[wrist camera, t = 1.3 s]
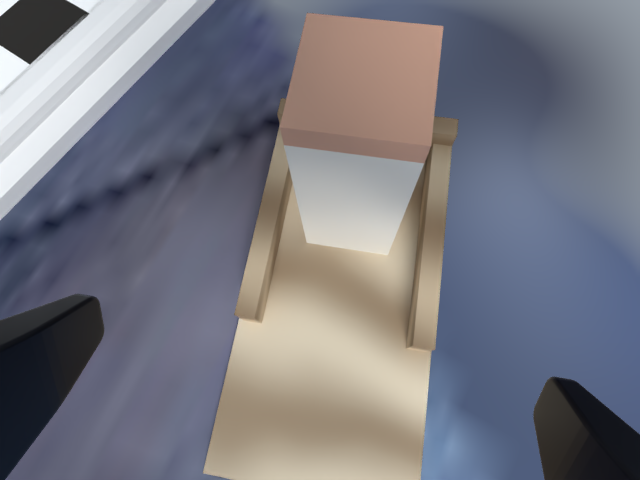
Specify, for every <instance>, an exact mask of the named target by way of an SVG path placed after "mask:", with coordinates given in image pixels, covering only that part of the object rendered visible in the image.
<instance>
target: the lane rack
mask: <svg viewBox="0 0 640 480" xmlns="http://www.w3.org/2000/svg"><path fill="white" fill-rule="evenodd" d="M285 103H286V99H284V98H281V100H280V105H279V109H278V113H277V114H278V119H279V123H281V119H282V115H283V111H284V107H285ZM457 130H458V119H452V118H444V117H436V116H434V123H433V133H432V143H431V148H430V150H429V153H428V155H427V158H426V160H425V163H424V165H423V168H422V170H421V173H420V175H419V178H418V181H417V183H416V186H415V188H414V191H413V193H412V196H411V198H410V201H409V203H408V206H407V208H406V211H405V213H404V216H403V218H402V221H401V223H400V226H399V228H398V231H397V233H396V236H395V238H394V241H393V243H392V246H391V249H390V251H389V254H388V255H383V254H377V253H370V252H363V251H357V250H350V249H344V248H337V247H331V246H324V245H318V244H311V243H307V242H306V237H305V233H304V229H303V225H302V220H301V216H300V212H299V208H298V203H297V199H296V195H295V191H294V186H293V182H292V178H291V173H290V169H289V165H288V161H287V156H286V152H285V148H284V144H283V139H282V135H281V131H280V126H279V130H278V134H277V138H276V143H275V147H274V151H273V155H272V159H271V164H270V168H269V172H268V176H267V180H266V184H265V189H264V193H263V197H262V201H261V205H260V209H259V214H258V218H257V222H256V226H255V230H254V234H253V239H252V243H251V247H250V251H249V255H248V260H247V264H246V268H245V272H244V276H243V280H242V285H241V289H240V293H239V297H238V301H237V305H236V310H235V314H234V315H235V316H237V317H239V321H238V326H237V330H236V334H235V338H234V343H233V347H232V351H231V355H230V360H229V364H228V368H227V372H226V377H225V381H224V385H223V389H222V394H221V398H220V402H219V406H218V411H217V415H216V419H215V423H214V428H213V432H212V436H211V440H210V445H209V449H208V453H207V457H206V462H205V466H204V470H203V473H205V474H209V475H214V476H219V477H223V478H228V479H233V480H420V478H421V466H422V455H423V443H424V431H425V420H426V408H427V396H428V385H429V373H430V361H431V351H432V350H435V344H436V332H437V320H438V308H439V296H440V284H441V272H442V260H443V248H444V236H445V224H446V211H447V200H448V187H449V175H450V164H451V152H452V145H453V143H454V141H455V139H456V137H457Z"/></svg>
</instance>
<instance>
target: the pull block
mask: <svg viewBox="0 0 640 480" xmlns="http://www.w3.org/2000/svg"><path fill="white" fill-rule="evenodd" d="M442 34H443V26H436V25H426V24H416V23H405V22H396V21H385V20H375V19H365V18H355V17H344V16H334V15H323V14H314V13H307V15H306V19H305V23H304V27H303V31H302V36H301V40H300V44H299V48H298V52H297V57H296V61H295V65H294V69H293V73H292V77H291V82H290V86H289V90H288V94H287V98H286V103H285V107H284V111H283V115H282V119H281V123H280V131H281V135H282V139H283V144H284V148H285V152H286V156H287V161H288V165H289V169H290V173H291V178H292V182H293V186H294V191H295V195H296V199H297V203H298V208H299V212H300V216H301V220H302V225H303V229H304V233H305V237H306V242H307V243H311V244H318V245H324V246H331V247H337V248H344V249H350V250H357V251H363V252H370V253H377V254H383V255H388V254H389V251H390V249H391V246H392V243H393V241H394V238H395V236H396V233H397V231H398V228H399V226H400V223H401V221H402V218H403V216H404V213H405V211H406V208H407V206H408V203H409V201H410V198H411V196H412V193H413V191H414V188H415V186H416V183H417V181H418V178H419V175H420V173H421V170H422V168H423V165H424V163H425V160H426V158H427V155H428V153H429V150H430V148H431V143H432V133H433V123H434V113H435V103H436V93H437V83H438V73H439V63H440V53H441V44H442Z"/></svg>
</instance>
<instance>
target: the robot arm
mask: <svg viewBox="0 0 640 480" xmlns="http://www.w3.org/2000/svg"><path fill="white" fill-rule="evenodd" d="M103 334H104V324H103V318H102V313H101V308H100V303H99V300H98V299H97V298H96V297H94V296H88V295H83V294H74V295H71V296H68V297H65V298H63V299H60V300H57V301H54V302H51V303H48V304H45V305H43V306H40V307H37V308H34V309H31V310H28V311H25V312H23V313H20V314H17V315H14V316H11V317H8V318H6V319H3V320H0V480H5V479H6V478H7V476H8V475H9V474H10V473H11V471H12V470H13V469H14V467H15V466H16V465H17V463H18V462H19V461H20V459H21V458H22V457H23V455H24V454H25V453H26V451H27V450H28V449H29V447H30V446H31V445H32V443H33V442H34V441H35V439H36V438H37V437H38V435H39V434H40V433H41V431H42V430H43V429H44V427H45V426H46V425H47V423H48V422H49V421H50V419H51V418H52V417H53V415H54V414H55V413H56V411H57V410H58V409H59V407H60V406H61V404H62V403H63V401H64V400H65V398H66V397H67V395H68V394H69V392H70V390H71V389H72V387H73V386H74V384H75V382H76V381H77V379H78V377H79V376H80V374H81V373H82V371H83V369H84V368H85V366H86V364H87V363H88V361H89V360H90V358H91V356H92V355H93V353H94V351H95V350H96V348H97V347H98V345H99V343H100V342H101V340H102V337H103ZM534 424H535V430H536V435H537V440H538V446H539V452H540V457H541V463H542V468H543V474H544V479H545V480H640V434H639V433H637V432H636V431H635V430H634V429H633V428H631V427H630V426H629V425H628V424H626V423H625V422H624V421H623V420H622V419H621V418H619V417H618V416H617V415H616V414H614V413H613V412H612V411H611V410H610V409H609V408H607V407H606V406H605V405H604V404H603V403H601V402H600V401H599V400H598V399H597V398H596V397H594V396H593V395H592V394H591V393H590V392H588V391H587V390H586V389H585V388H584V387H582V386H581V385H580V384H579V383H577V382H576V381H574V380H571V379H565V378H559V377H551V378H549V379H548V380H547V382H546V383H545V386H544V388H543V390H542V392H541V394H540V396H539V399H538V401H537V403H536V405H535V408H534Z"/></svg>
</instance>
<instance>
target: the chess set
mask: <svg viewBox="0 0 640 480" xmlns="http://www.w3.org/2000/svg"><path fill="white" fill-rule="evenodd" d="M215 1H216V0H0V220H1V219H2V218H3V217H4V216H5V215H6V214H7V213H8V212H9V211H10V210H11V209H12V208H13V207H14V206H15V205H16V204H17V203H18V202H19V201H20V200H21V199H22V198H23V197H24V196H25V195H26V194H27V193H28V192H29V191H30V189H31V188H32V187H33V186H34V185H35V184H36V183H37V182H38V181H39V180H40V179H41V178H42V177H43V176H44V175H45V174H46V173H47V172H48V171H49V170H50V169H51V168H52V167H53V166H54V165H55V164H56V163H57V162H58V161H59V160H60V159H61V158H62V157H63V156H64V155H65V154H66V153H67V152H68V151H69V150H70V149H71V148H72V147H73V146H74V145H75V144H76V143H77V142H78V141H79V139H80V138H81V137H82V136H83V135H84V134H85V133H86V132H87V131H88V130H89V129H90V128H91V127H92V126H93V125H94V124H95V123H96V122H97V121H98V120H99V119H100V118H101V117H102V116H103V115H104V114H105V113H106V112H107V111H108V110H109V109H110V108H111V107H112V106H113V105H114V104H115V103H116V102H117V101H118V100H119V99H120V98H121V97H122V96H123V95H124V94H125V93H126V92H127V91H128V89H129V88H130V87H131V86H132V85H133V84H134V83H135V82H136V81H137V80H138V79H139V78H140V77H141V76H142V75H143V74H144V73H145V72H146V71H147V70H148V69H149V68H150V67H151V66H152V65H153V64H154V63H155V62H156V61H157V60H158V59H159V58H160V57H161V56H162V55H163V54H164V53H165V52H166V51H167V50H168V49H169V48H170V47H171V46H172V45H173V44H174V43H175V42H176V41H177V39H178V38H179V37H180V36H181V35H182V34H183V33H184V32H185V31H186V30H187V29H188V28H189V27H190V26H191V25H192V24H193V23H194V22H195V21H196V20H197V19H198V18H199V17H200V16H201V15H202V14H203V13H204V12H205V11H206V10H207V9H208V8H209V7H210V6H211V5H212V4H213V3H214V2H215Z"/></svg>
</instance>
